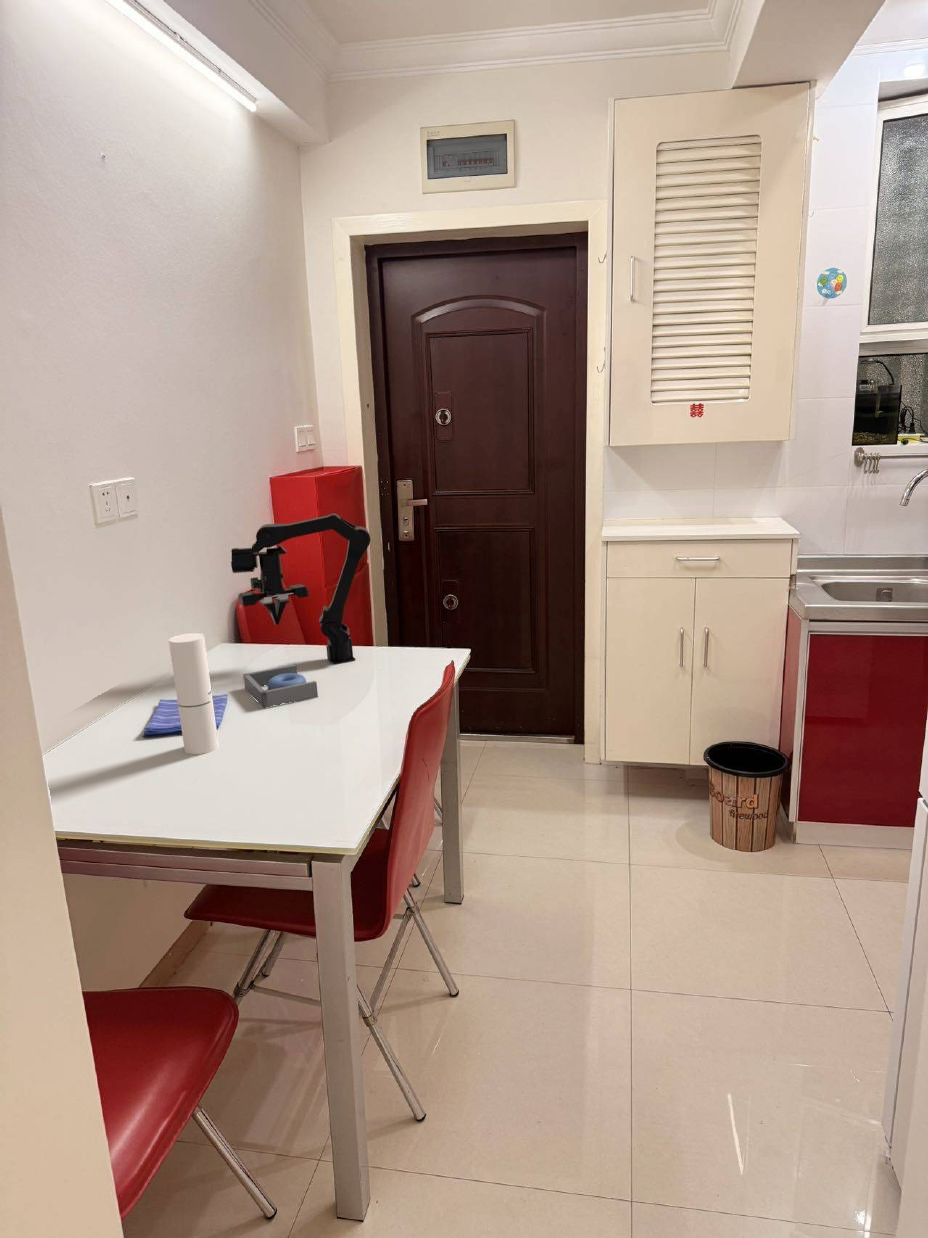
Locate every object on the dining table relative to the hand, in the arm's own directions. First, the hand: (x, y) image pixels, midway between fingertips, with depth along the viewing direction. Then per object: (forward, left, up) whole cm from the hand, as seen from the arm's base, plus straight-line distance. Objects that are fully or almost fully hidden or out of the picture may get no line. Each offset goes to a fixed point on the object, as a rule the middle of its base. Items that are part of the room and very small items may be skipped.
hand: (276, 624), depth 238 cm
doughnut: (+5, +23, -13) cm, 27 cm away
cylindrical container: (+32, +50, -12) cm, 60 cm away
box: (+7, +24, -12) cm, 27 cm away
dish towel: (+31, +28, -13) cm, 43 cm away
